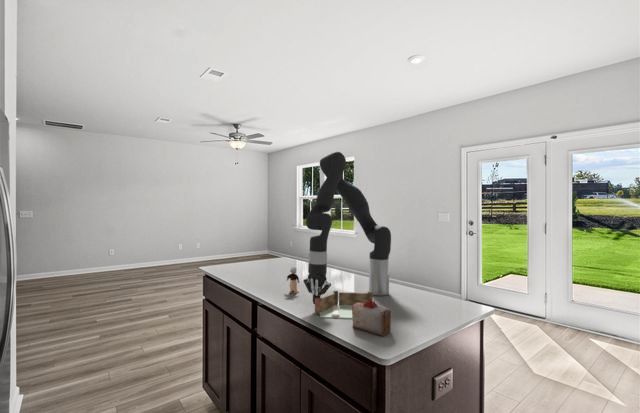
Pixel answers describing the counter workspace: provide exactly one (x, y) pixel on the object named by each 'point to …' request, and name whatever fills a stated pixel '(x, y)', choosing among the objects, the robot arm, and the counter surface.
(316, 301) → the hinged fence panel
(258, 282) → the counter surface
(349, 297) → the fixed fence section
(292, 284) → the grandmother figurine
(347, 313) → the card
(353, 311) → the food item
